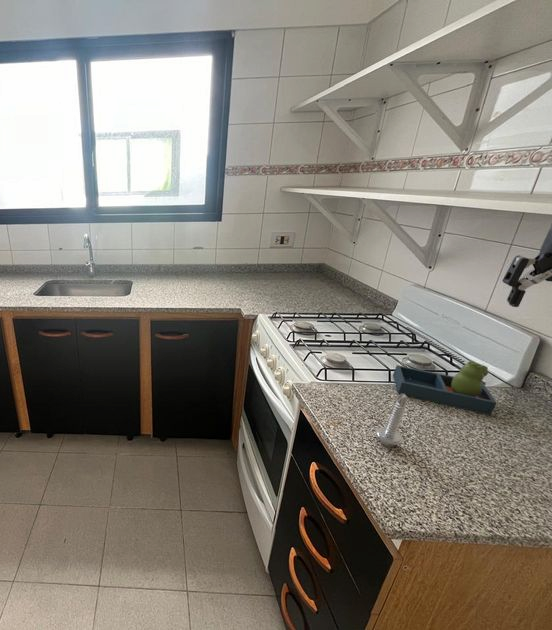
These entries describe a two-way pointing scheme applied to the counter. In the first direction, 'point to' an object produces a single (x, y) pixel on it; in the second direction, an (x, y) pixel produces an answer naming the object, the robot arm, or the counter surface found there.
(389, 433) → the screw
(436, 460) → the counter surface
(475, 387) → the pear
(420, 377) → the tray
